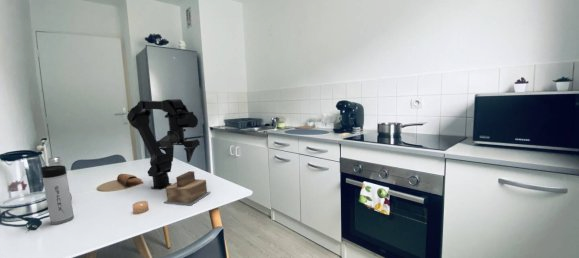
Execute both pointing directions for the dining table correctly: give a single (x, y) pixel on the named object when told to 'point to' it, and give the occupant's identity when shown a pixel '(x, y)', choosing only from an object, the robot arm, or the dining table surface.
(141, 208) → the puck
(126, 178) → the brown slipper
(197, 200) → the mat
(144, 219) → the dining table surface
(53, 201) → the travel mug
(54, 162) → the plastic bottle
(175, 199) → the cover
